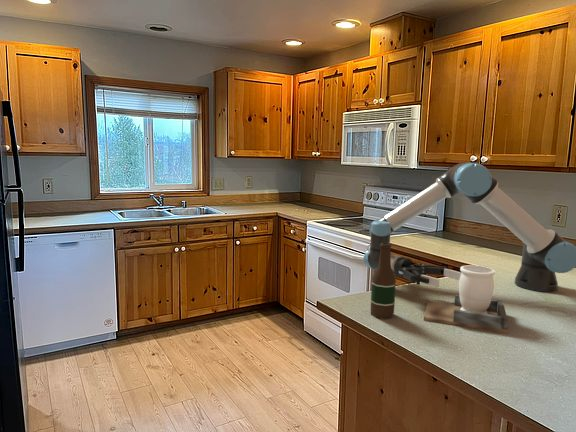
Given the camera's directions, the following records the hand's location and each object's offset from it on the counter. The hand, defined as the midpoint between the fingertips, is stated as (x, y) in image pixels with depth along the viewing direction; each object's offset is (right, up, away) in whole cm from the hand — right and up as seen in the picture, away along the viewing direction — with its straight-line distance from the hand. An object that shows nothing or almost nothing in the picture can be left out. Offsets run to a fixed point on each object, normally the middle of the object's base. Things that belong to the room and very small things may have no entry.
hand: (450, 279), depth 143 cm
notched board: (+3, -11, -5) cm, 13 cm away
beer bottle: (-24, -11, -4) cm, 27 cm away
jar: (+6, -11, -4) cm, 13 cm away
